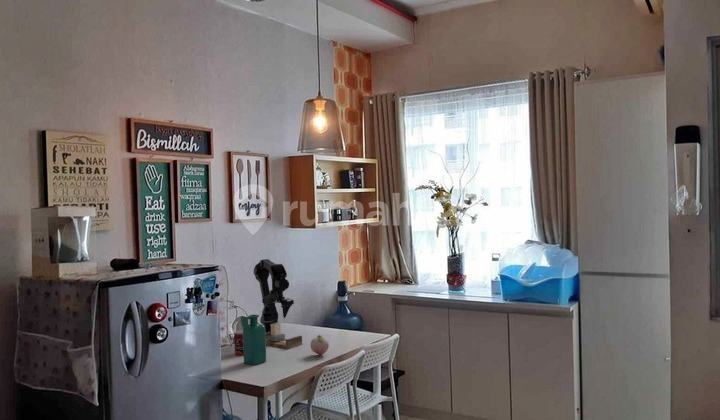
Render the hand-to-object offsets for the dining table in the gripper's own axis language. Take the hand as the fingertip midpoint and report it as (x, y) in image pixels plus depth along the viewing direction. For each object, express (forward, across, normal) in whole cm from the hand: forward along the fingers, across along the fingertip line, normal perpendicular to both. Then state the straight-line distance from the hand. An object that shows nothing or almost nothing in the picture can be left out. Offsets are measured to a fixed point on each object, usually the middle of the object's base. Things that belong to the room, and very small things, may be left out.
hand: (278, 316), depth 317 cm
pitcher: (+12, +23, -38) cm, 46 cm away
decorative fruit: (+12, +41, -13) cm, 45 cm away
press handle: (+10, +5, -7) cm, 13 cm away
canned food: (+12, +6, -30) cm, 33 cm away
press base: (+12, +8, -7) cm, 16 cm away
